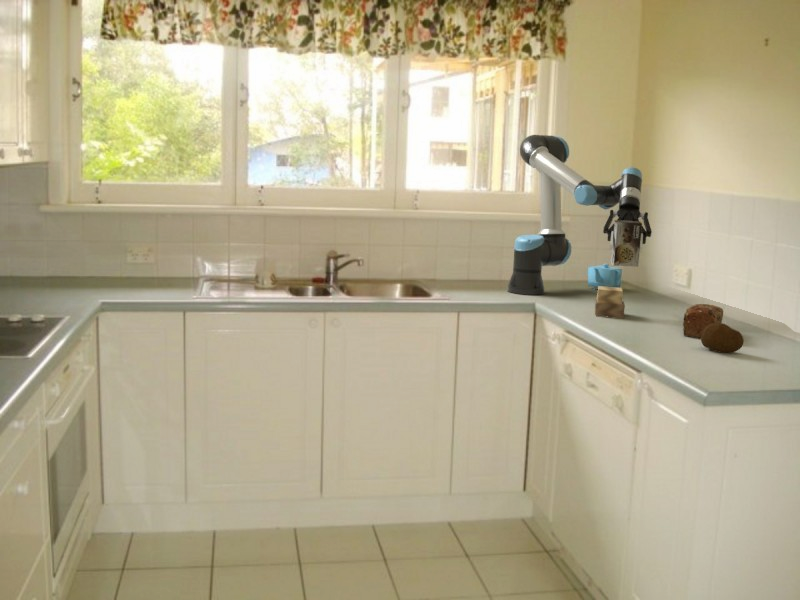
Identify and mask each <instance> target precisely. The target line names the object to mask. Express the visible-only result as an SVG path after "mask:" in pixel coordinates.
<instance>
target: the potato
mask: <svg viewBox="0 0 800 600" xmlns="http://www.w3.org/2000/svg"><path fill="white" fill-rule="evenodd" d="M700 339H701V343H702V345H703V346H704V348H707V349H709V350H711V351H713V352H717V353H722V354H731V353H732V354H733V353H735V352H737V351H739V350H740V349H742V347H743V346H744V341H745V340H744V337H743V334H742V333H741V332H740V331H739V330H736V329H734V328H732V327H730V326H729V325H727V324H725V323H711V324H709V325H708V326H707V327H705V329H704V330H703V332H702V335H701V338H700Z"/></svg>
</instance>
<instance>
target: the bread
mask: <svg viewBox="0 0 800 600" xmlns="http://www.w3.org/2000/svg"><path fill="white" fill-rule="evenodd" d="M683 316H684V317H683V321H682V326H683V336H687V337H690V338H696V339H697V338H698V339H701V335H702V332H703V330H704V329H705V327H707V326H708V325H709V324H711V323H722V321H723V316H724V310H723V308H722V307H720V306H717V305H713V304H709V303H707V304H705V303H697V304H696V303H695V304H694V305H691V306H689V307H688V308H686V312H685V313H684V315H683Z"/></svg>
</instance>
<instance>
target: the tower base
mask: <svg viewBox="0 0 800 600" xmlns="http://www.w3.org/2000/svg"><path fill="white" fill-rule="evenodd" d="M625 307H626V305H625V301H623V300H622V305H616V304H603V303H597V298H596V299H595V305H594V316H595V315H596V316H595V317H600V316H608V317H607V318H612V317H617V318H616V319H624V316H625Z"/></svg>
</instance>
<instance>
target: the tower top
mask: <svg viewBox="0 0 800 600" xmlns="http://www.w3.org/2000/svg"><path fill="white" fill-rule="evenodd" d="M623 291H624V290H623V287H620V288H618V287H604V286H598V290H597V294H596V299H597V303H603V304H616V305H622V301H623Z"/></svg>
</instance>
